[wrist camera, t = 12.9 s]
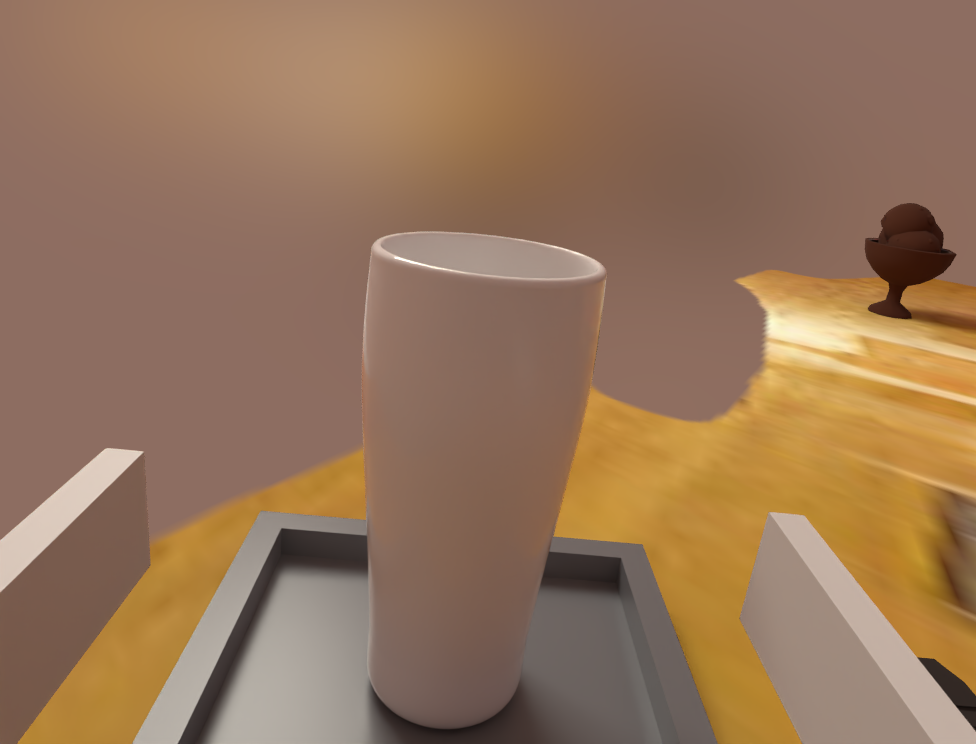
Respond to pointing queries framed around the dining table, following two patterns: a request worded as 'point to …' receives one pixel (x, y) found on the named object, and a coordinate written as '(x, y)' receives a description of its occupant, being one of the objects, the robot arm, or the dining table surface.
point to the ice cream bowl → (906, 254)
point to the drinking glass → (467, 457)
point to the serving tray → (344, 644)
